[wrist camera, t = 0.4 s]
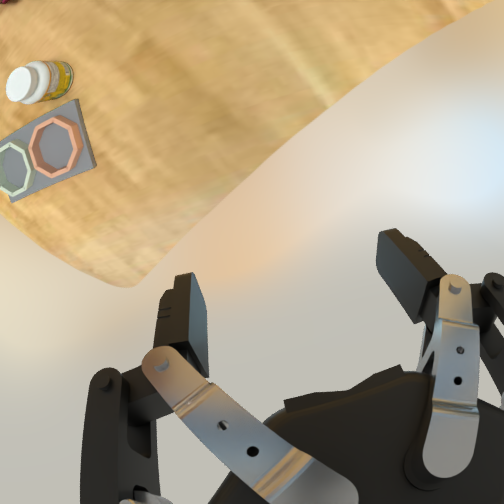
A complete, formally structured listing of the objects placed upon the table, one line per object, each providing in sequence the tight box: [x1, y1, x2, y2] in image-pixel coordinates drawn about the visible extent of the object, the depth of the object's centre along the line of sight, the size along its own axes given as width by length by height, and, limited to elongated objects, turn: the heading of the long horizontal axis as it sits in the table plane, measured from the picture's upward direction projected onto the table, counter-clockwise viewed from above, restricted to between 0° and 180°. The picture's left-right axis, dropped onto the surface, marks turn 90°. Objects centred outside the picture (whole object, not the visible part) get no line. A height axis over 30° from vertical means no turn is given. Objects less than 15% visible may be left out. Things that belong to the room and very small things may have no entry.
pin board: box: [0, 99, 97, 203], centre depth 29 cm, size 10×17×3 cm, turn 99°
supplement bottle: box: [6, 61, 73, 104], centre depth 22 cm, size 5×5×10 cm
